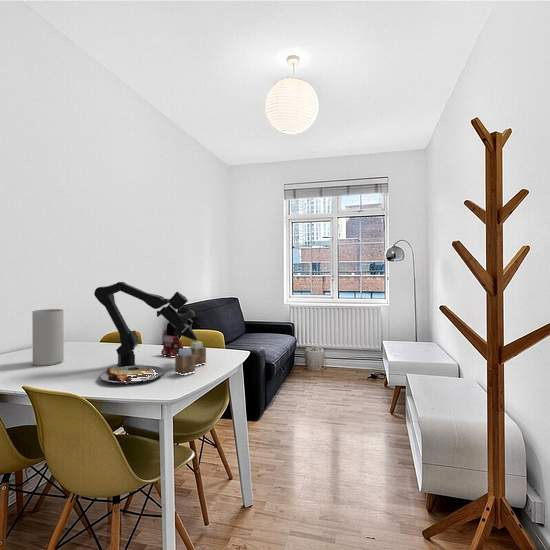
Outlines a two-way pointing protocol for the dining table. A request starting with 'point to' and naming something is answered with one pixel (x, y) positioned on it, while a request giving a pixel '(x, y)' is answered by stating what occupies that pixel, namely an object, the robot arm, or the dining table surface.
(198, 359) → the key post
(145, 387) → the dining table surface
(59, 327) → the cylinder vase
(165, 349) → the toy fire truck
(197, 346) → the key
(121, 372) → the food plate
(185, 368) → the key post
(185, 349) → the key
